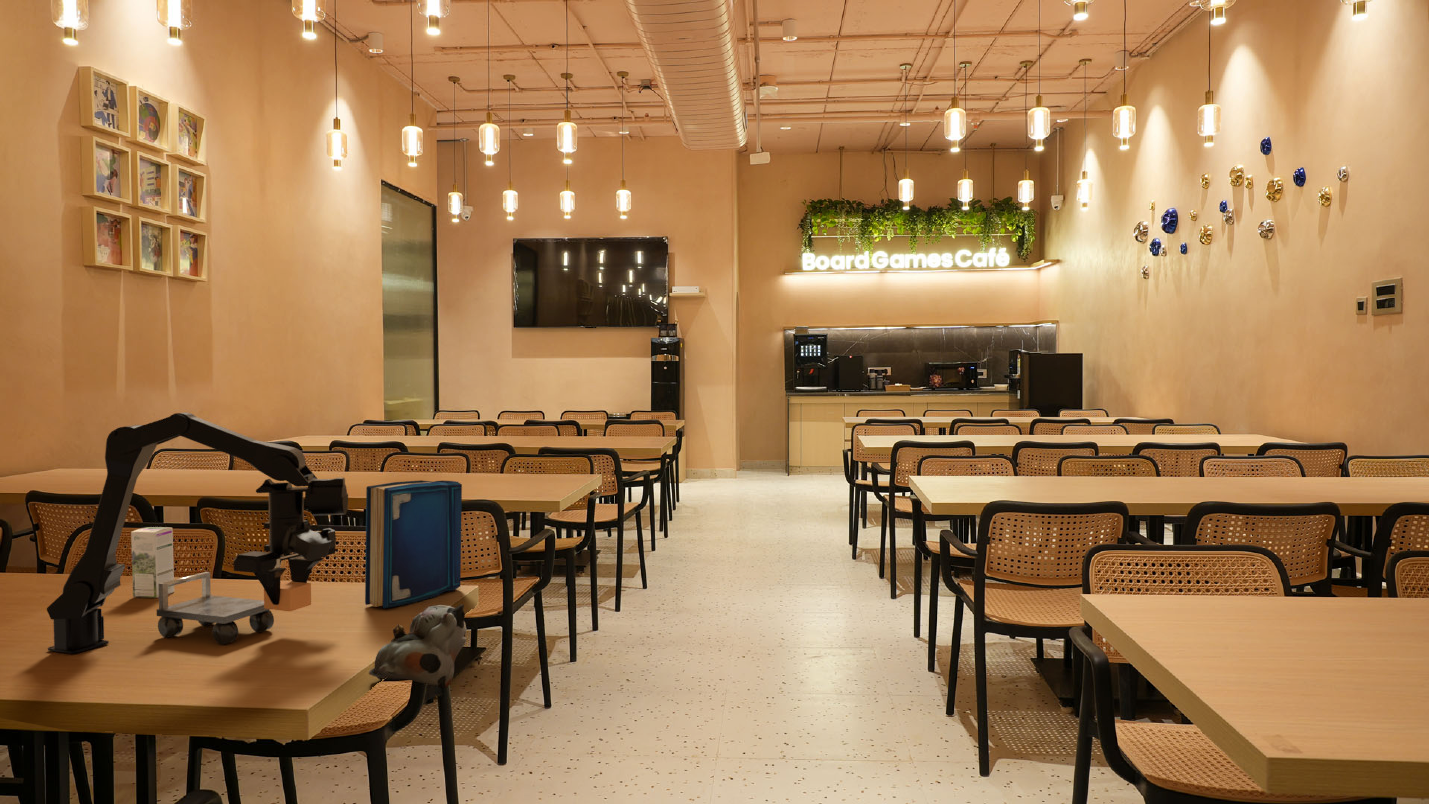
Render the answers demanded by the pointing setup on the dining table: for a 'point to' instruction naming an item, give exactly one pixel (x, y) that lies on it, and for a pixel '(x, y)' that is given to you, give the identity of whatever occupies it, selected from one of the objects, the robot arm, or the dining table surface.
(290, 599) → the orange rectangular carton
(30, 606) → the dining table surface
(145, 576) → the syrup box
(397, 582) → the book
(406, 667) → the cat figurine
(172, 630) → the platform trolley
